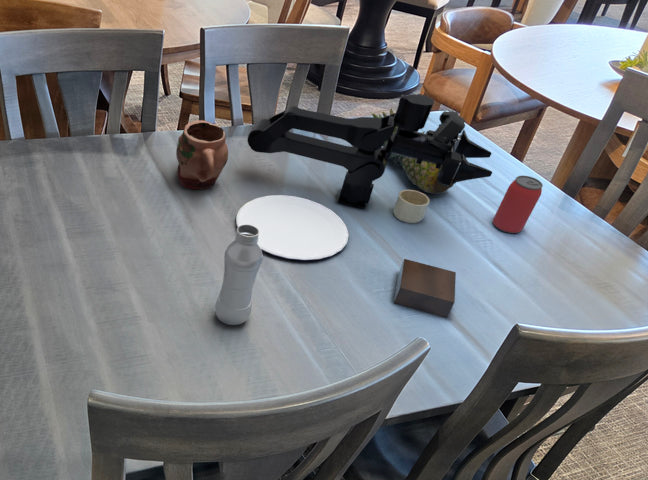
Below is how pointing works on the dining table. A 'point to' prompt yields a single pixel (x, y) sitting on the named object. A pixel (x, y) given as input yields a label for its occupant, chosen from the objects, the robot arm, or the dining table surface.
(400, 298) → the riser
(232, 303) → the plastic bottle
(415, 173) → the fruit
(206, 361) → the dining table surface
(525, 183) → the beer can
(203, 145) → the decorative planter
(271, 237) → the plate
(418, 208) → the bowl
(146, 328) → the dining table surface
